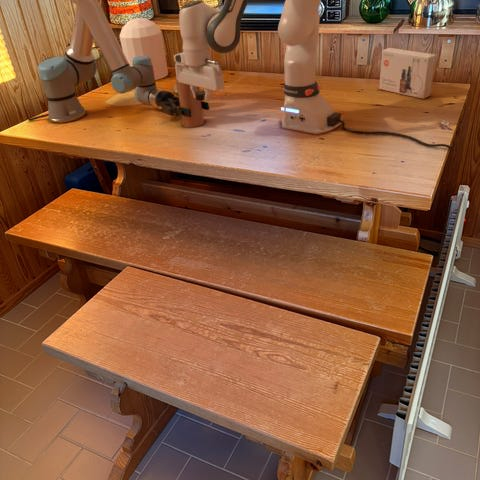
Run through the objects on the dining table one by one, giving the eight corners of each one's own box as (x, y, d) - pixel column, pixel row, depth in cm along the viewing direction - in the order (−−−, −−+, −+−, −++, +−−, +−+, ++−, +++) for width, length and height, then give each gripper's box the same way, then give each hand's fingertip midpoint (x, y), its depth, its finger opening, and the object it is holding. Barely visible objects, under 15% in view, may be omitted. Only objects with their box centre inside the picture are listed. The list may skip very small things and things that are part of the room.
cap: (199, 101, 156) (198, 95, 155) (194, 98, 159) (193, 92, 157) (209, 98, 157) (208, 92, 156) (203, 96, 160) (203, 90, 159)
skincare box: (377, 89, 194) (381, 50, 185) (385, 86, 197) (389, 47, 188) (423, 99, 180) (429, 56, 171) (430, 95, 183) (437, 53, 174)
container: (160, 81, 233) (149, 21, 217) (121, 82, 238) (108, 23, 222) (174, 69, 249) (165, 13, 233) (138, 70, 254) (126, 15, 238)
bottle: (190, 118, 185) (182, 61, 173) (208, 120, 181) (200, 62, 169) (178, 125, 179) (169, 67, 167) (196, 128, 175) (187, 69, 163)
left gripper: (184, 101, 196) (220, 111, 182) (143, 116, 184) (179, 128, 170) (181, 83, 191) (218, 92, 177) (139, 98, 180) (175, 108, 166)
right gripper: (226, 59, 146) (229, 102, 154) (184, 51, 158) (189, 91, 166) (212, 63, 142) (216, 107, 150) (170, 55, 154) (176, 96, 162)
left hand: (199, 109), depth 174 cm, fingers closed on bottle, 8 cm apart
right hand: (201, 99), depth 158 cm, fingers closed on cap, 4 cm apart
